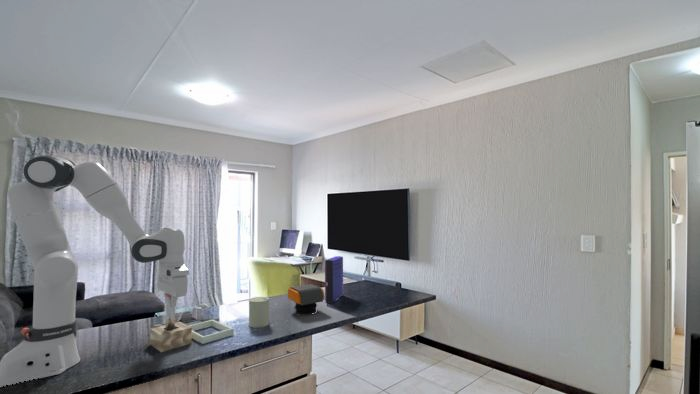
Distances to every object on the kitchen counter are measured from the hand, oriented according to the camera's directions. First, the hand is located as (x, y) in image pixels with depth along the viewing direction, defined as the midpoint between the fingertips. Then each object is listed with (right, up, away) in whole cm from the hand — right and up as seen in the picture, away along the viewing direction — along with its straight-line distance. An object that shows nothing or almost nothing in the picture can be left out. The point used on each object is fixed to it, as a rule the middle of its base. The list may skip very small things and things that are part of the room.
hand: (170, 304), depth 132 cm
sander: (+44, -18, +47) cm, 67 cm away
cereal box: (+61, -19, +69) cm, 94 cm away
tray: (+10, -16, +10) cm, 22 cm away
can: (+28, -17, +24) cm, 41 cm away
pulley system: (-7, -18, +28) cm, 34 cm away
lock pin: (0, -10, 0) cm, 10 cm away
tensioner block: (0, -16, -1) cm, 16 cm away
